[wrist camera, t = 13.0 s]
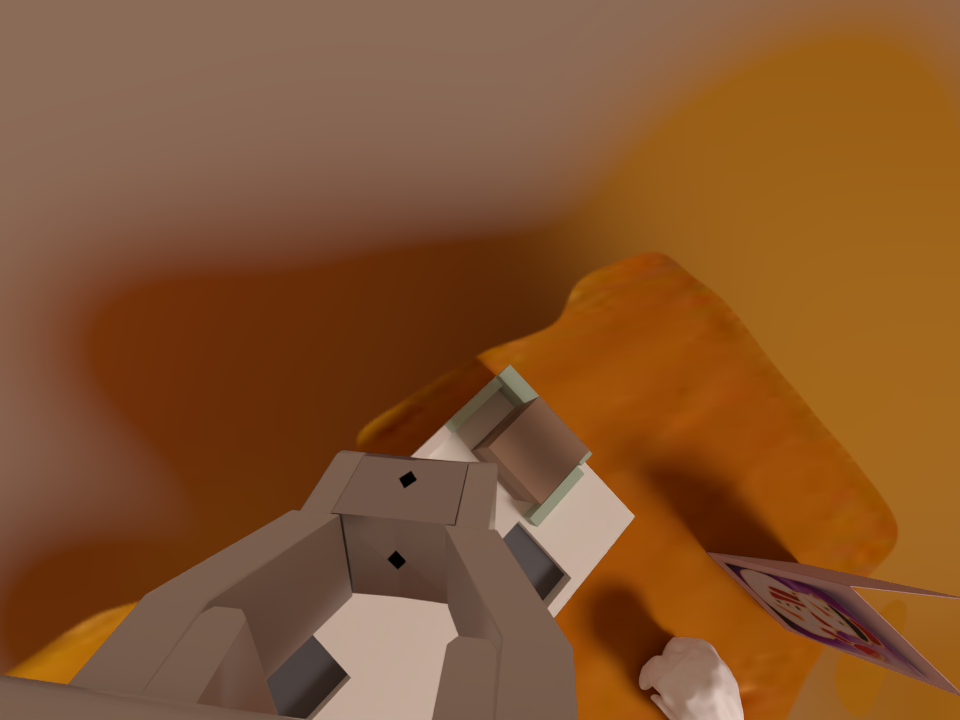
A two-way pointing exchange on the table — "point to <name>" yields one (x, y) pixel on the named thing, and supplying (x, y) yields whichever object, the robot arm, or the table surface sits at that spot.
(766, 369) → the table surface
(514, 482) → the walnut block
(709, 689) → the white animal figurine
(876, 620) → the greeting card
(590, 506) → the box
